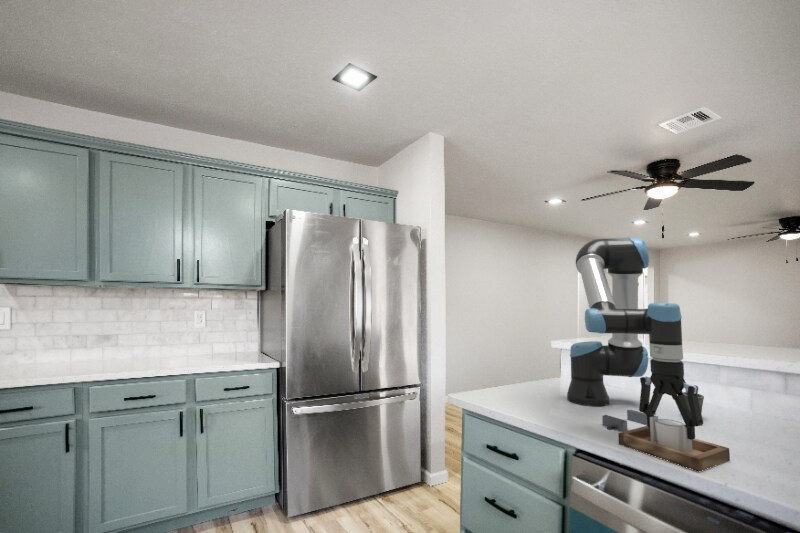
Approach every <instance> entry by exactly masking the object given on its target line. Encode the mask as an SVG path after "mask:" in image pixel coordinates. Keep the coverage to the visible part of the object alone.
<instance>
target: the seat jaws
mask: <svg viewBox="0 0 800 533" xmlns="http://www.w3.org/2000/svg"><path fill="white" fill-rule="evenodd" d="M626 417H627V418H626V419H627V420H625V419H622V418H619V417H615V416H612V415H608V414H605V415H602V419H601V420H602V426H604V427H606V430H609V431H611V430H616V431H620V432H624V431H628V421H632V422H635V423H639V424H643V425H645V426H647V415H646V414H645V413H643V412H640V411H637V410H633V409H627V410H626Z"/></svg>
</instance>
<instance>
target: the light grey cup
mask: <svg viewBox="0 0 800 533" xmlns="http://www.w3.org/2000/svg"><path fill="white" fill-rule="evenodd" d="M683 425H685V423H684V422H681V421H679V420H678V421H677V420H673V419H668V418H658V419H656V420H655V426H656V432H657V439H658V444H660V445H663V446H666V447H669V448H673V449H676V450H679V451H682V452H684V451H683V433H682V426H683Z"/></svg>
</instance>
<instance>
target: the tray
mask: <svg viewBox="0 0 800 533" xmlns="http://www.w3.org/2000/svg"><path fill="white" fill-rule="evenodd" d="M617 436H618V439H617V440H618V445H621V446H623V445H624V447H626V448H629V447H630V448H629V449H631V448H632V450H634V449H635V450H634V451H637V450H638V452H640V451H641V453H643V452H644V453H643V454H646V453H647V454H646V455H648V454H650V456H651V455H653V456H652V457H654V456H656V457H655V458H657V457H659V458H658V459H660V458H662V459H661V460H663V459H665V460H664V461H666V460H668V461H670V462H669V463H671V462H673V463H672V464H674V463H676V464H675V465H677V464H679V465H678V466H680V465H681V466H680V467H683V466H684V468H686V467H687V468H686V469H688V468H691V469H693V470H692V471H694V470H696V471H695V472H697V471H702V470H704V471H706V470H705V469H707V468H709V469H711V468H710V467H712V468H714V467H716V466H715V465H717V466H719V465H718V464H720V465H722V464H724V462H725V463H726V462H729V461H731V457H730V455H731V454H730V448H729V447H726V446H722V445H720V444H716V443H713V442H709V441H705V440H701V439H698V438H695V439H693V440H692V451H690V452H682V451H679V450H676V449H673V448H669V447H666V446H663V445H660V444H658V441H655V442H652V441H651V433H650V428H649V427H648V426H647V425H645V426H640V427H637V428H636V427H635V428H633V429H629V430H628V431H624V432H622V431H620V432H619V433H617ZM668 461H667V462H668ZM721 463H722V464H721ZM713 466H714V467H713ZM691 469H690V470H691ZM707 470H708V469H707ZM702 472H703V471H702Z"/></svg>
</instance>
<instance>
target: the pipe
mask: <svg viewBox="0 0 800 533" xmlns="http://www.w3.org/2000/svg"><path fill="white" fill-rule="evenodd" d="M682 392H683V394H684V399H685V401H686V403H687V406H688V408H689V410H690V407H689V402H688V397H687V392H686V391H682ZM697 396H698V400H699V405H700V410H701V414H702V412H703V405H704V400H705V396H704V395H703V394H700V393H698V394H697Z"/></svg>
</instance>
